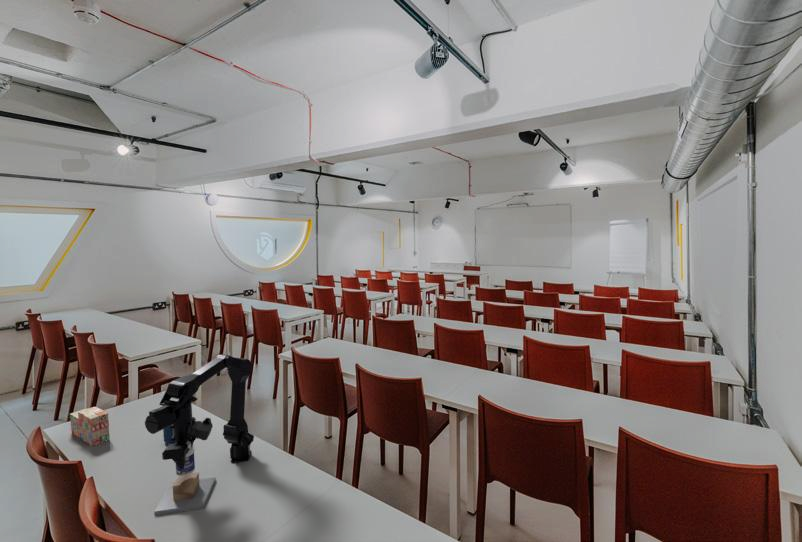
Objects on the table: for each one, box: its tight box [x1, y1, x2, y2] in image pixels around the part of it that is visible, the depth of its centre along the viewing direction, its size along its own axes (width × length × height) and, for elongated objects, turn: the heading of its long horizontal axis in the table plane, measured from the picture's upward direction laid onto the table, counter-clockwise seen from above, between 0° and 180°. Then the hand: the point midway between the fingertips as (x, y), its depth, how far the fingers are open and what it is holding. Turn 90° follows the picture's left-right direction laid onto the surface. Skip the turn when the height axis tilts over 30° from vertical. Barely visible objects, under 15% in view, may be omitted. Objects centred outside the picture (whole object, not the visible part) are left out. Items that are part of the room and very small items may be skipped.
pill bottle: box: [175, 441, 196, 477], centre depth 123 cm, size 5×5×10 cm
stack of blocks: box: [69, 406, 111, 447], centre depth 162 cm, size 21×6×12 cm, turn 60°
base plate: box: [153, 477, 217, 516], centre depth 124 cm, size 14×14×1 cm
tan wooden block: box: [173, 472, 200, 501], centre depth 124 cm, size 6×6×5 cm
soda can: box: [163, 426, 176, 445], centre depth 158 cm, size 7×7×12 cm
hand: (185, 463), depth 123 cm, fingers closed on pill bottle, 5 cm apart
